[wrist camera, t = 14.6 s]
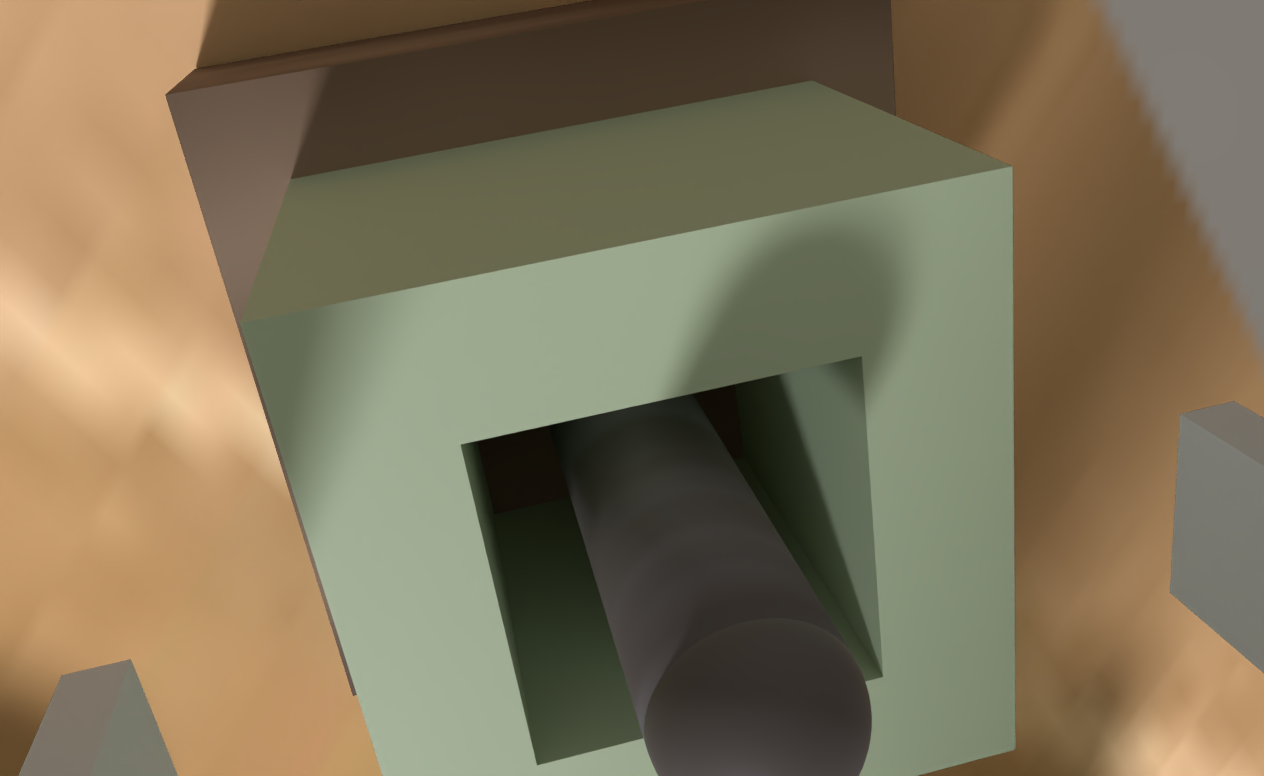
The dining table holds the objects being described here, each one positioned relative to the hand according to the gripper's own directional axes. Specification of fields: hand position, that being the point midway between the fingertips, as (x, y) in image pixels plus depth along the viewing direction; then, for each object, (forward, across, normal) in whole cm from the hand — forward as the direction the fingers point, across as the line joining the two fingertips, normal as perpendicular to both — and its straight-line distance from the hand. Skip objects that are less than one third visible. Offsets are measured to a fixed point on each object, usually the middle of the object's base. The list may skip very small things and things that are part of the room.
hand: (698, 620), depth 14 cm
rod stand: (+11, 0, 0) cm, 11 cm away
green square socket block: (+8, 0, 0) cm, 8 cm away
